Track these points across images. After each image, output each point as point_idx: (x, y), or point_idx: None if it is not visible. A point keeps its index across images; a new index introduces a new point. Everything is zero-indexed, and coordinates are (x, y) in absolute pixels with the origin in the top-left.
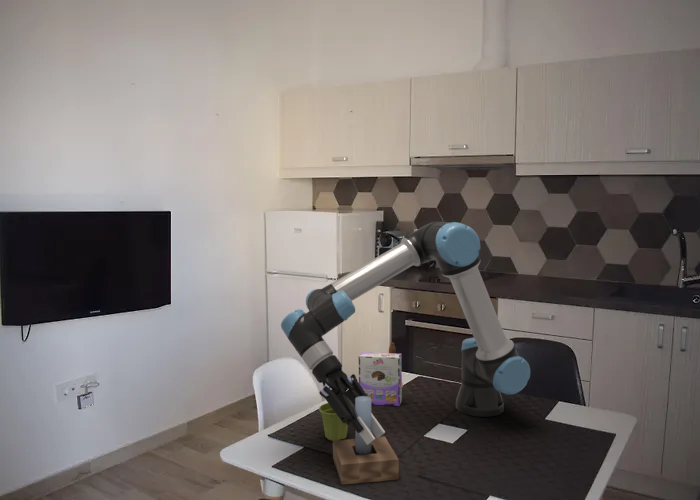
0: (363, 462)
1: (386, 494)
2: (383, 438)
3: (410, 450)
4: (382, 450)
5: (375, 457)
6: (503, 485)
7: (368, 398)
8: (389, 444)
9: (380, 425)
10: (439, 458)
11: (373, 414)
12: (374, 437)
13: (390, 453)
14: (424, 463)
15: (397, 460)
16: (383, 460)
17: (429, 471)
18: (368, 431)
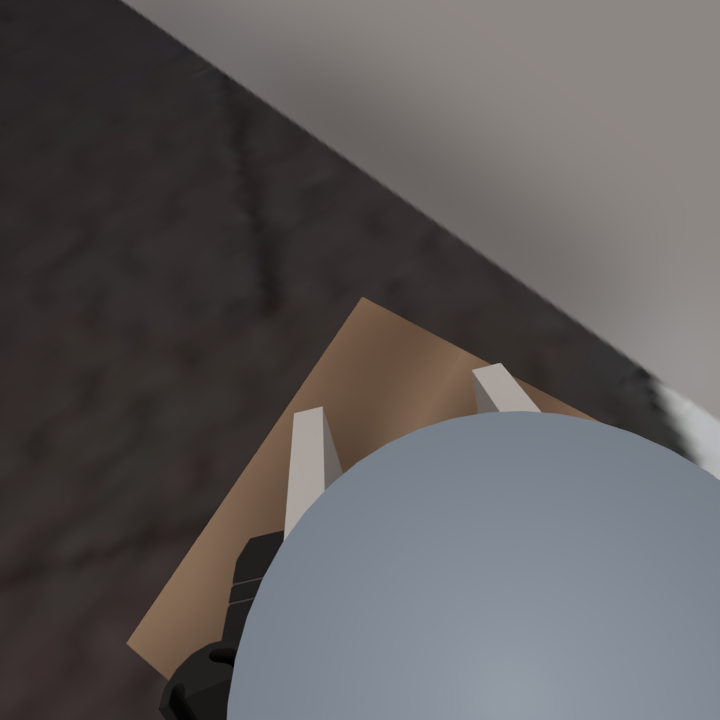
0: (576, 414)
1: (522, 282)
2: (166, 620)
3: (50, 542)
4: (339, 461)
5: (457, 413)
6: (122, 75)
7: (361, 597)
8: (224, 501)
9: (290, 460)
10: (52, 363)
11: (226, 625)
12: (479, 373)
13: (333, 389)
14: (145, 376)
15: (368, 303)
16: (444, 347)
17: (202, 305)
18: (533, 406)
